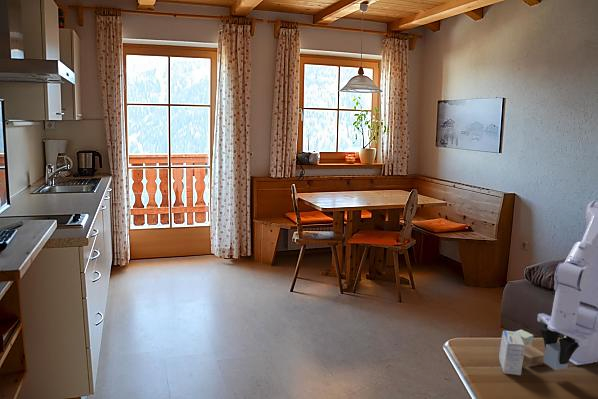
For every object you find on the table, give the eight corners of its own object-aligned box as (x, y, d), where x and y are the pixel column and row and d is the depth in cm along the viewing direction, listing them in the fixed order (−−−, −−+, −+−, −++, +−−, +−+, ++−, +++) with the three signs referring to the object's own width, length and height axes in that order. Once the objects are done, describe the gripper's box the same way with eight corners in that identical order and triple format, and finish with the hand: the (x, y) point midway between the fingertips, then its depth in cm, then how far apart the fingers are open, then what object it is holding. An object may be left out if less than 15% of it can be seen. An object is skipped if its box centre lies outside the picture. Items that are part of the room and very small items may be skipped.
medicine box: (520, 376, 136) (526, 345, 134) (502, 373, 137) (507, 343, 135) (515, 361, 144) (519, 332, 142) (497, 358, 144) (502, 329, 143)
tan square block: (527, 354, 149) (529, 344, 148) (544, 364, 143) (546, 354, 143) (510, 357, 146) (512, 347, 146) (527, 368, 141) (529, 357, 140)
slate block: (555, 360, 138) (558, 342, 137) (567, 368, 135) (570, 350, 134) (543, 362, 137) (546, 344, 136) (555, 370, 133) (558, 352, 132)
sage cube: (518, 341, 155) (521, 329, 154) (531, 347, 152) (533, 335, 151) (510, 344, 153) (512, 332, 152) (523, 351, 150) (525, 338, 149)
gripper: (531, 299, 138) (523, 346, 141) (576, 324, 124) (566, 375, 127) (552, 297, 140) (544, 343, 143) (598, 321, 127) (588, 371, 130)
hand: (556, 358), depth 135 cm, fingers closed on slate block, 4 cm apart
